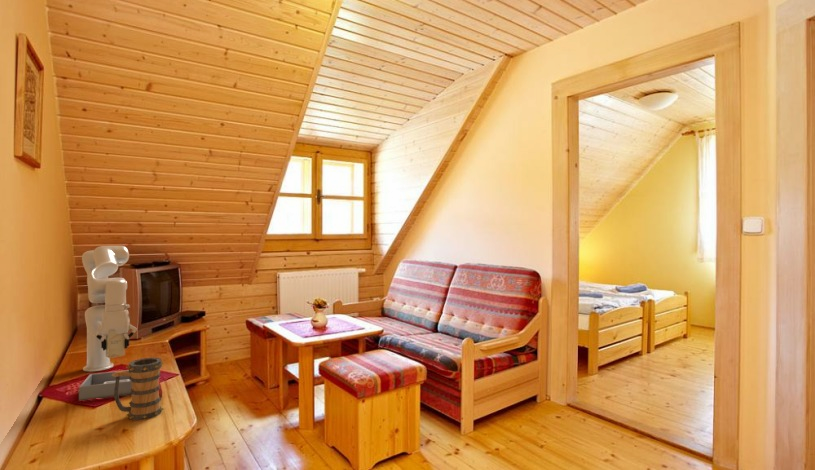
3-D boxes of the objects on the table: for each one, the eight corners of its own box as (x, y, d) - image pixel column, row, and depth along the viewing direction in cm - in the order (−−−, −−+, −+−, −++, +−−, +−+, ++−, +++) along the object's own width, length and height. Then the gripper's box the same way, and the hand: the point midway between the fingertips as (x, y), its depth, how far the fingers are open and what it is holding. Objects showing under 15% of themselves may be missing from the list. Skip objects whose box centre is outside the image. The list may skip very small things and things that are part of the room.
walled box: (89, 387, 193) (89, 374, 193) (147, 380, 202) (147, 368, 202) (78, 401, 177) (78, 387, 177) (141, 393, 186) (141, 379, 186)
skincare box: (109, 358, 185) (109, 330, 185) (105, 356, 188) (105, 328, 188) (125, 355, 190) (125, 327, 190) (121, 353, 193) (121, 326, 193)
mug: (164, 417, 162) (164, 363, 162) (109, 427, 154) (109, 370, 154) (164, 405, 174) (165, 355, 174) (113, 413, 165) (113, 361, 165)
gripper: (140, 305, 196) (140, 344, 196) (93, 308, 189) (93, 348, 189) (137, 308, 190) (137, 348, 190) (89, 310, 182) (89, 353, 182)
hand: (115, 348), depth 189 cm, fingers closed on skincare box, 7 cm apart
